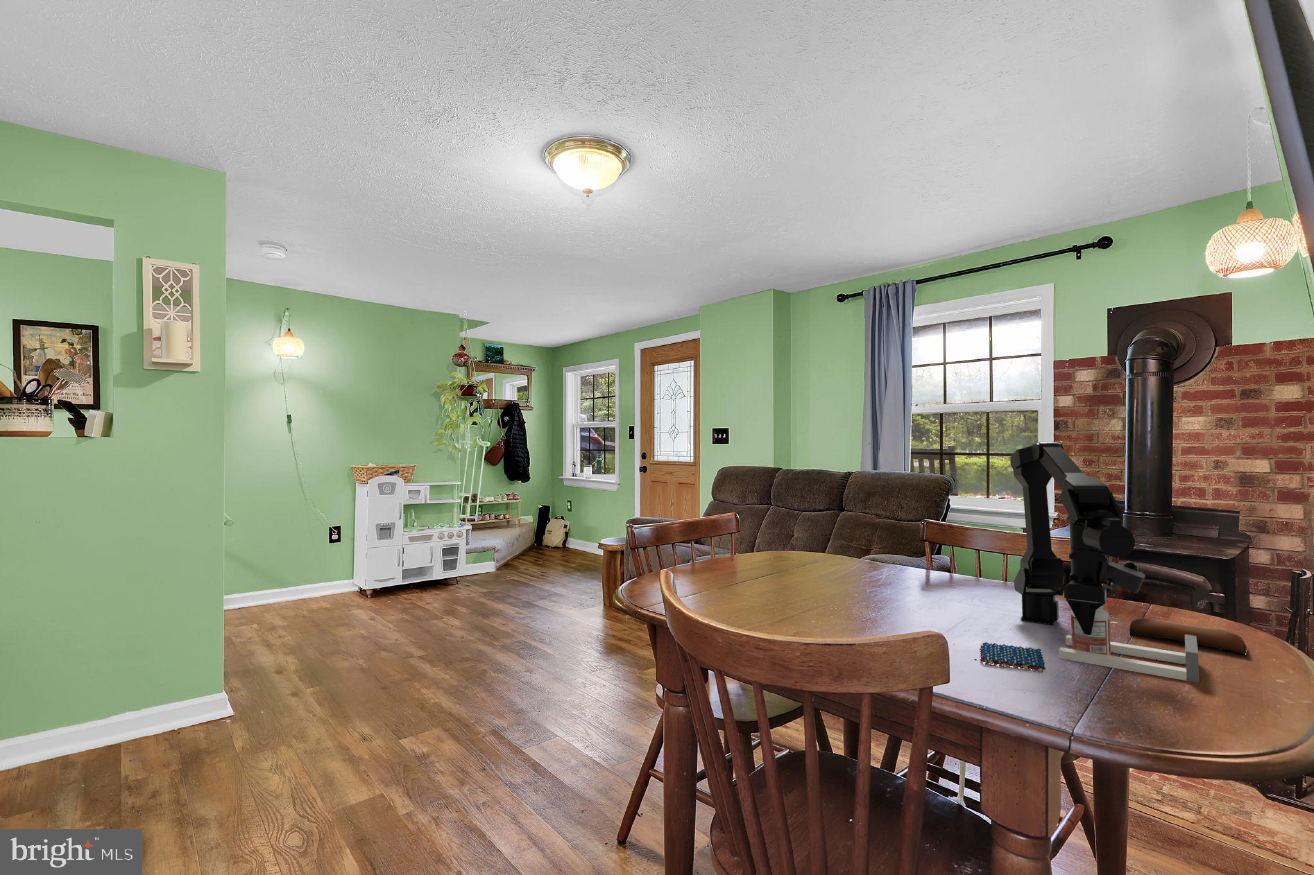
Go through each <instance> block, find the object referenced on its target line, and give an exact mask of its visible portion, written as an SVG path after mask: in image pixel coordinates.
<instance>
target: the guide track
mask: <svg viewBox="0 0 1314 875" xmlns="http://www.w3.org/2000/svg"><path fill="white" fill-rule="evenodd" d="M1065 645H1066V646H1071V647H1072V635H1070V634H1066V636H1065ZM1110 646H1111V653H1114V654H1119V655H1125V656H1126V655H1127V656H1132V657H1138V658H1143V657H1144V658H1145V659H1151V660H1156V659H1157V660H1156V661H1164V662H1167V663H1168V662H1169V663H1173V664H1174V663H1175V664H1181V665H1185V667H1181V666H1180V667H1179V666H1174V665H1167V664H1161V663H1156V662H1155V663H1154V662H1150V661H1143V660H1140V659H1139V660H1137V659H1131V658H1126V657H1121V656H1120V657H1119V656H1115V655H1110V656H1109V655H1103V654H1097V653H1091V652H1085V651H1079V650H1073V649H1072V648H1065V647H1059V650H1058V656H1059V657H1058V658H1059V659H1062V660H1067V659H1069V660H1068V661H1074V662H1079V663H1085V664H1091V665H1096V666H1097V665H1098V666H1102V667H1106V668H1113V669H1118V670H1124V671H1130V672H1136V673H1142V674H1146V675H1147V674H1148V675H1152V676H1159V677H1164V678H1170V679H1174V680H1175V679H1176V680H1179V681H1181V680H1182V681H1186V682H1192V683H1197V684H1199V683H1200V671H1199V670H1200V669H1199V668H1200V666H1199V650H1198V647H1199V646H1198V644H1197V638H1196V636H1192V635H1185V642H1184V652H1180V651H1179V652H1178V651H1173V650H1165V649H1160V648H1156V647H1155V648H1154V647H1147V646H1143V645H1142V646H1140V645H1134V644H1130V643H1129V644H1128V643H1121V642H1115V641H1110ZM1144 658H1143V659H1144Z"/></svg>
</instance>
